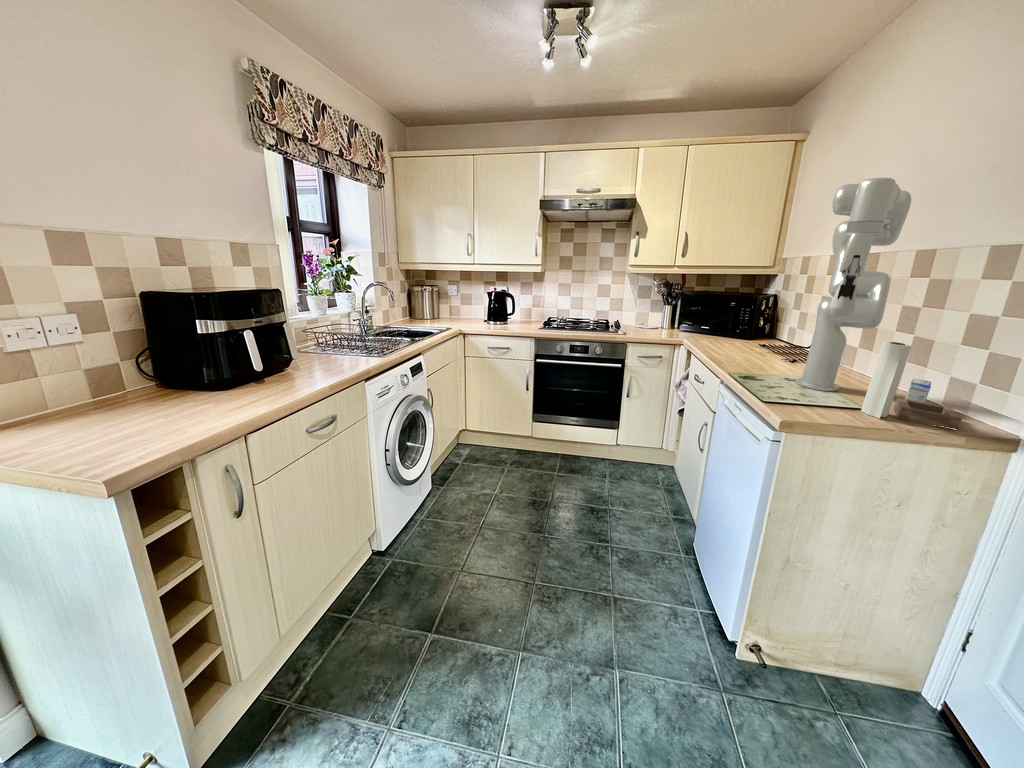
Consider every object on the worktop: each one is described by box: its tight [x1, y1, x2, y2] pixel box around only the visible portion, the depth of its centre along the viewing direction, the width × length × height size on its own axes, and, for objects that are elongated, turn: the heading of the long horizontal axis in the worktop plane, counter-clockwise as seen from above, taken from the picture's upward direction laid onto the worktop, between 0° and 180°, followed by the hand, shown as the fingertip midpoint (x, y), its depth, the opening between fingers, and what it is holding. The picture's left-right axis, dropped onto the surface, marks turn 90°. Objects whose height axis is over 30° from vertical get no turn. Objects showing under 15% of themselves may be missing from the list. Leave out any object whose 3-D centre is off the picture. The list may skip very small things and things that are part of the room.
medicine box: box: [904, 378, 932, 403], centre depth 127 cm, size 8×4×9 cm, turn 134°
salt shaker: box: [829, 269, 861, 317], centre depth 114 cm, size 6×6×13 cm
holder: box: [893, 397, 963, 430], centre depth 118 cm, size 12×12×4 cm
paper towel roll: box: [860, 341, 912, 420], centre depth 117 cm, size 7×6×21 cm
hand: (844, 298), depth 114 cm, fingers closed on salt shaker, 3 cm apart
